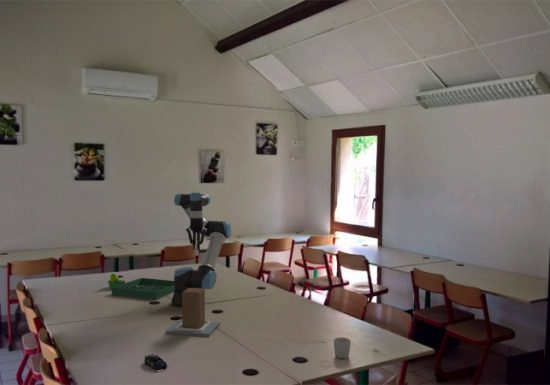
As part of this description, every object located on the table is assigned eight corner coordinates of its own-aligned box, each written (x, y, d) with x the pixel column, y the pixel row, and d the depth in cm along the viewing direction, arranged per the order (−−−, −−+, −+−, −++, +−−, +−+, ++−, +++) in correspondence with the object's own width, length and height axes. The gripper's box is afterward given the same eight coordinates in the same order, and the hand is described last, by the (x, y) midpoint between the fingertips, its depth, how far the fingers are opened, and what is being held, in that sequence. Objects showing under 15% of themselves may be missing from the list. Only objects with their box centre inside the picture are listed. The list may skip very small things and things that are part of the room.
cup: (330, 351, 240) (331, 335, 239) (346, 351, 240) (347, 335, 240) (335, 360, 229) (335, 343, 228) (352, 359, 229) (352, 342, 229)
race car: (173, 369, 218) (173, 358, 218) (161, 373, 213) (161, 363, 213) (151, 360, 228) (151, 350, 227) (139, 364, 222) (139, 355, 222)
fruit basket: (126, 287, 360) (126, 272, 360) (116, 290, 353) (116, 274, 352) (115, 285, 366) (115, 270, 366) (105, 288, 359) (105, 272, 358)
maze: (182, 289, 362) (182, 281, 361) (156, 300, 328) (156, 292, 328) (141, 285, 373) (141, 277, 373) (111, 295, 340) (112, 287, 339)
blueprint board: (165, 333, 263) (165, 329, 263) (179, 322, 282) (179, 317, 282) (209, 336, 259) (209, 331, 259) (219, 324, 278) (219, 320, 278)
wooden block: (199, 329, 265) (199, 292, 264) (181, 328, 267) (181, 291, 266) (205, 323, 274) (205, 288, 273) (188, 322, 276) (188, 287, 275)
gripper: (184, 217, 301) (184, 256, 303) (204, 218, 300) (205, 256, 301) (188, 216, 309) (188, 253, 311) (208, 216, 307) (208, 254, 309)
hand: (196, 255), depth 306 cm, fingers closed
